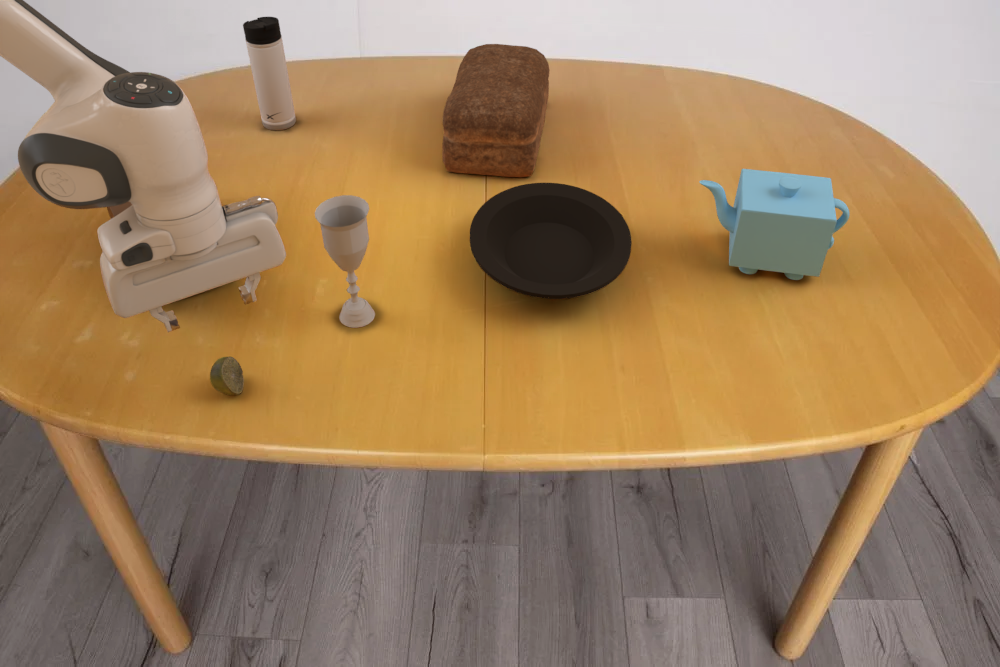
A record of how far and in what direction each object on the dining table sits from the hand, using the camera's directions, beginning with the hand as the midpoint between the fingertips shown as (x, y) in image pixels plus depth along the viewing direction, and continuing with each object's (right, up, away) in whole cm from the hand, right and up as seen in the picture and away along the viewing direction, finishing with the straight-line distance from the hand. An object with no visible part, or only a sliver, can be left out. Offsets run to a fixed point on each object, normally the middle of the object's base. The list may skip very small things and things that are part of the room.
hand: (211, 313), depth 105 cm
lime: (0, -10, +9) cm, 13 cm away
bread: (+34, +34, +56) cm, 74 cm away
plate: (+42, +8, +28) cm, 51 cm away
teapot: (+75, +9, +30) cm, 81 cm away
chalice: (+14, 0, +19) cm, 24 cm away
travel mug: (-7, +37, +60) cm, 71 cm away
